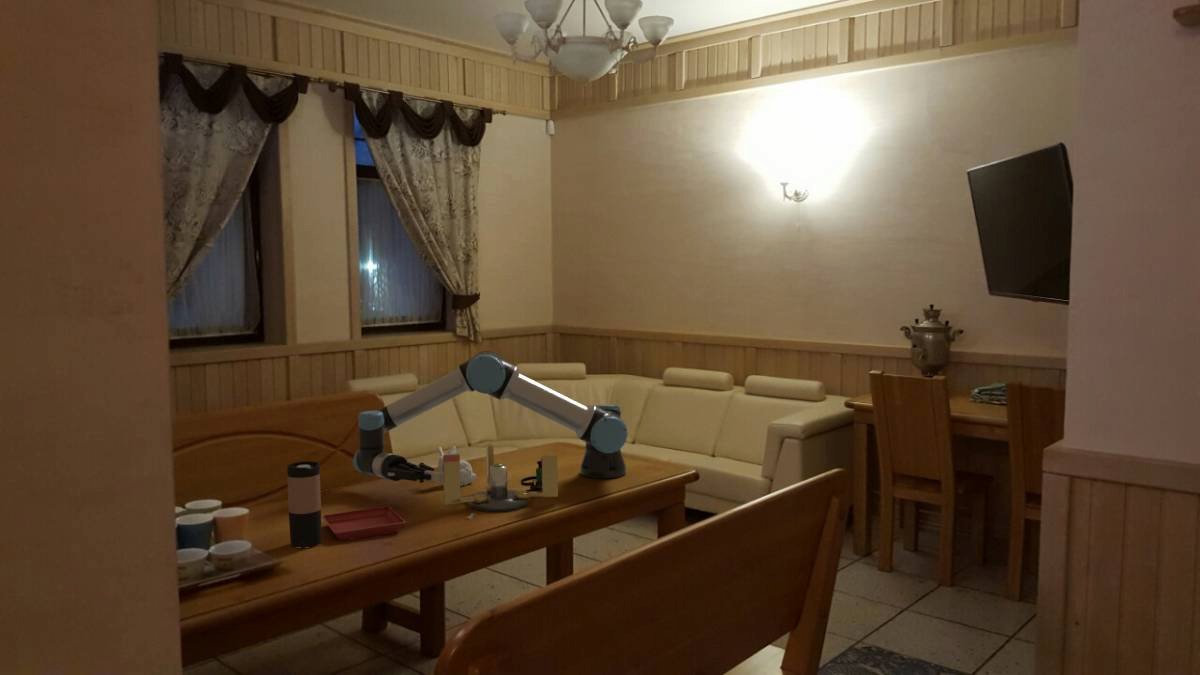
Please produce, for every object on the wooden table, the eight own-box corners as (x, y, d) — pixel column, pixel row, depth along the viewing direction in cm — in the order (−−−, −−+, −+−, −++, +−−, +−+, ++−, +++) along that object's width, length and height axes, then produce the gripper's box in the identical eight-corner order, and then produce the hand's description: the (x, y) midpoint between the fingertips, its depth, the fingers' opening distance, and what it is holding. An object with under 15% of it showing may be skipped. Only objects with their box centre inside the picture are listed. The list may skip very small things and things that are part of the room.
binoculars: (522, 457, 270) (553, 455, 268) (526, 491, 271) (557, 489, 269) (514, 463, 262) (546, 461, 260) (518, 498, 262) (550, 496, 260)
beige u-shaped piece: (486, 498, 250) (485, 451, 249) (488, 502, 246) (488, 454, 245) (443, 502, 246) (442, 454, 245) (445, 506, 242) (444, 457, 241)
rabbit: (440, 489, 271) (439, 450, 270) (434, 482, 280) (433, 445, 279) (478, 485, 276) (478, 447, 275) (471, 478, 284) (470, 442, 283)
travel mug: (294, 539, 220) (291, 461, 219) (325, 538, 221) (322, 460, 219) (286, 549, 212) (283, 468, 211) (318, 548, 213) (315, 467, 212)
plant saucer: (334, 545, 217) (334, 531, 217) (321, 526, 233) (321, 514, 233) (406, 534, 225) (406, 521, 225) (389, 517, 241) (389, 505, 241)
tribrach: (570, 494, 263) (569, 447, 261) (533, 524, 232) (532, 470, 231) (488, 489, 270) (487, 443, 269) (442, 517, 239) (441, 465, 238)
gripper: (409, 475, 267) (459, 487, 252) (372, 483, 258) (422, 496, 242) (408, 451, 267) (458, 461, 251) (372, 458, 257) (421, 469, 242)
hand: (440, 478), depth 247 cm, fingers closed
